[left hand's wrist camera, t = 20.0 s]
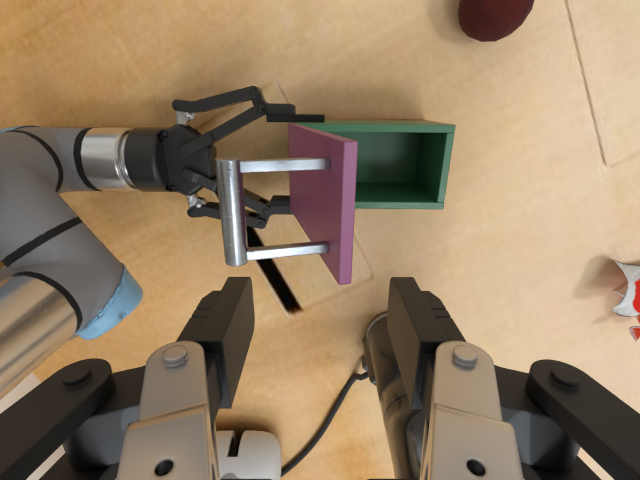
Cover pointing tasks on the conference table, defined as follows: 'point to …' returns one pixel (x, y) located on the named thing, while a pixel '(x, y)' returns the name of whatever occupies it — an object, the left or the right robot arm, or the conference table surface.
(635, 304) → the fish
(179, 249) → the conference table surface
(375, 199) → the chest
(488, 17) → the potato
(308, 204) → the lid
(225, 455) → the grey rounded lobed block
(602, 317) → the conference table surface
